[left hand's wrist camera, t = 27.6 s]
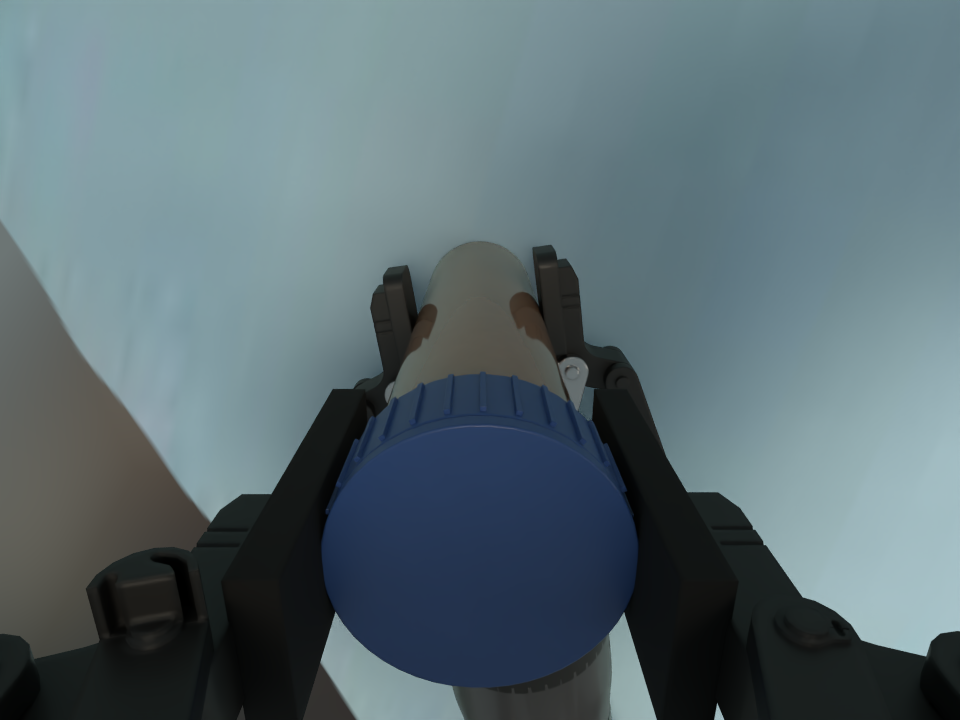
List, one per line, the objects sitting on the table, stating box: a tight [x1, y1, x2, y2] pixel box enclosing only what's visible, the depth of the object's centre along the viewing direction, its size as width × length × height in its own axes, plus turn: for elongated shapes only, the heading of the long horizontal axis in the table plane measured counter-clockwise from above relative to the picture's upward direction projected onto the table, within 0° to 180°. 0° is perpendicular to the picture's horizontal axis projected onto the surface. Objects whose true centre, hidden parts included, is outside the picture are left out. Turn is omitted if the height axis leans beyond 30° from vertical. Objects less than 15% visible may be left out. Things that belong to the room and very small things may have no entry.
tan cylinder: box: [386, 242, 572, 407], centre depth 20 cm, size 5×5×19 cm
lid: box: [321, 372, 639, 688], centre depth 11 cm, size 6×6×2 cm
